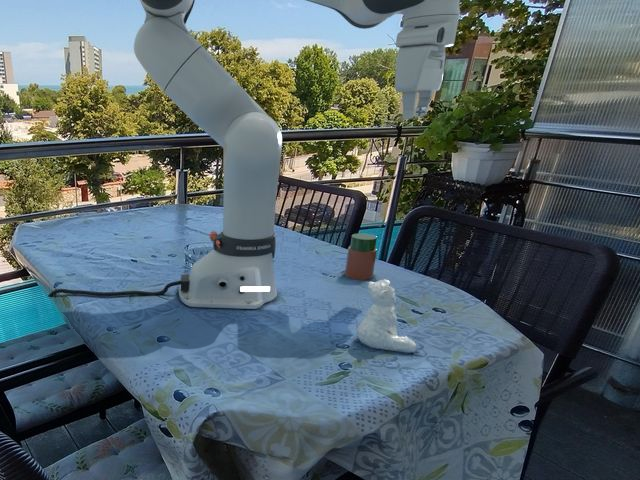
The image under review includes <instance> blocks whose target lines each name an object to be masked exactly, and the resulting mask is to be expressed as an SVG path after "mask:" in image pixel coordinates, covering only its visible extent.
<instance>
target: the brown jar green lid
mask: <svg viewBox="0 0 640 480" xmlns="http://www.w3.org/2000/svg"><path fill="white" fill-rule="evenodd" d="M377 237H378V236H377V235H375V234H370V233H365V232H364V233H353V234H352V235H351V239H350V244H349V246H348V248H347V253H346V254H347V255H346V264H345V270H344V275H345V277H347V278H348V279H352V280H356V281H357V280H358V281H367V280H368V281H369V280H371V279H373V277H374V270H375V264H376V257H377V251H378V249H377V248H376V246H377V241H378V238H377Z"/></svg>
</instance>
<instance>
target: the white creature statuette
mask: <svg viewBox="0 0 640 480" xmlns="http://www.w3.org/2000/svg"><path fill="white" fill-rule="evenodd" d="M367 289H368V294H369V295H370V299H371V301H372V302H373V304H372V305H370V307H369V308H368V309H367V310H366V314H365V316H364V318H362V321H361V322H360V323H359V324H358V327H356V333H355V334H356V336H357V339H358V340H359V341H360V343H362V344H364V346H367V347H369V348H371V349H376V350H385V351H392V352H400V353H406V354H412V353H415V352H416V349H417V344H416V341H414V340H413V339H411V338H409V337H408V336H399V335H398V330H397V322H398V315H397V313H396V308H395V307H396V306H395V302H397V298H396V292H395V291H396V288H394V287H393V286H392V285H391V281H390V280H388V279H379V280H378V281H375V282H374V281H369V282H368V285H367Z"/></svg>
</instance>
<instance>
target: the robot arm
mask: <svg viewBox="0 0 640 480" xmlns="http://www.w3.org/2000/svg"><path fill="white" fill-rule="evenodd" d="M305 1H307V2H310V3H313V4H316V5H319V6H322V7H326V8H327V9H328V8H329V9H330V10H333V11H335V12H337V13H338V14H339V15H340V16H341V17H343V19H344V20H345V21H347V23H349V24H350V25H351V26H353V27H355V28H358V29H361V30H362V29H363V30H364V29H365V30H366V29H372V28H375V27H377V26H379V25H381V24H382V23H383V22H385V21H386V20H388V19H389V18H391V17H392V16H393V17H394V15H403V18H404V19H403V24H402V29H401V30H400V31H399V32H398V33H397V35H396V37H395V47H396V48H399V49H398V51H397V54H396V61H395V62H396V63H395V74H394V75H395V76H394V88H395V92H396V93H402V115H401V117H402V119H403V120H411V119H414V118H415V117H417V118H419V117H420V118H421V117H426V116H427V114H428V109H429V105H430V103H431V100H432V96H433V92H438V91H440V89H441V86H442V84H443V79H444V78H443V77H444V71H445V65H446V64H445V63H446V53H447V52H446V48H447V47H452V46H454V45H455V41H456V36H457V30H458V26H459V20H460V15H461V9H460V0H305ZM139 2H140V4H141V6H142V8H143V10H144V13H145V18H144V22H143V24H142V25H141V26H140V27H139V29H138V31H137V33H136V35H135V38H134V41H133V52H134V55H135V58H136V59H137V61H138V62H139V64H140V65H141V66H142V68H143V70H144V71H145V72H146V73H147V75H148V77H150V79H151V80H152V81H153V82H154V84H156V85H157V87H158V88H159V89H160V90H161V91H162V92H163V93H164V94H165V95H166V96H167V97H168V98H169V100H171V101H172V102H173V103H174V104H175V105H176V106H177V108H178V109H180V110H181V111H182V112H183V113H184V114H185V115H186V116H187V117H188V118H189V119H190V120H191V121H192V122H193V123H194V124H195V125H196V126H198V127H199V128H200V129H201V130H202V131H204V132H205V133H206V134H207V135H208V136H209V137H210V138H211V139H212V140H214V142H216V143H217V144H218V145H219V146H220V147H221V148H222V149H223V168H222V169H223V172H222V173H223V174H222V175H223V176H222V177H223V178H222V179H223V183H222V185H223V189H222V190H223V191H222V192H223V201H222V202H223V205H222V206H223V207H222V210H223V211H222V231H221V232H220V233H217V231H211V232H210V233H209V235H208V238H209V239H210V241H211V242H212V245H213V246H212V247H213V249H211V250H210V251H209V252H208V253H206V254H204V256H202V257H200V259H198V260H196V261H195V262H193V264H192V266H191V267H190V270H189V273H188V274H181V275H180V276H181V277H180V280H176V281H171V282H169V283H167V284H165V286H164V288H163V289H162V290H159V291H144V290H126V291H125V290H124V291H110V292H109V291H108V292H107V291H91V290H84V289H83V290H81V289H68V288H57V289H54V290H52V291H51V292H49V294H48V296H47V297H48V298H51V297H54V296H55V295H56V294H61V293H62V294H71V295H87V296H96V297H118V296H121V297H122V296H134V295H135V296H136V295H137V296H150V297H151V296H162V295H164V294H166V293H167V292H168V290H169V289H170V288H171V287H175V286H179V287H178V296H179V299H180V301H181V302H182V303H183V304H185V305H186V306H188V307H191V308H209V309H211V308H212V309H213V308H214V309H239V310H240V309H244V310H258V309H260V308H261V307H262V306H264V304H266V303H269V302H272V301H273V300H275V299H276V298H277V296H278V289H277V286H276V280H275V271H274V270H275V269H274V258H275V254H276V247H277V238H276V235H277V234H276V233H275V223H276V207H277V193H278V186H279V185H278V184H279V177H280V170H281V158H282V146H283V135H282V132H281V129H280V127H279V125H278V123H277V122H276V121H275V120H274V119H273V118H272V117H271V116H270V115H269V114H268V113H267V112H266V111H265V110H264V109H263V108H262V107H261V106H260V105H259V104H258V103H257V102H256V101H255V100H254V99H253V98H252V96H250V94H248V92H247V91H246V90H245V89H244V88H243V87H242V86H241V84H240V83H238V82H237V81H236V80H235V79H234V77H233V76H232V75H231V74H230V73H229V72H228V71H227V70H226V69H225V68H224V67H223V66H222V64H221V63H220V62H218V61H217V60H216V58H215V57H213V56H212V54H211V53H210V52H209V51H208V50H207V49H206V48H205V47H204V46H203V45H202V44H201V43H200V42H199V41H198V40H197V39H196V38H195V37H194V35H192V34H191V32H190V31H189V29H188V28H187V26H186V24H187V21H188V19H189V18H190V17H189V16H190V14H191V13H192V10H193V9H194V6H195V5H194V4H195V2H196V0H139ZM417 99H418V101H416V100H417ZM416 103H417V105H416Z"/></svg>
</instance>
